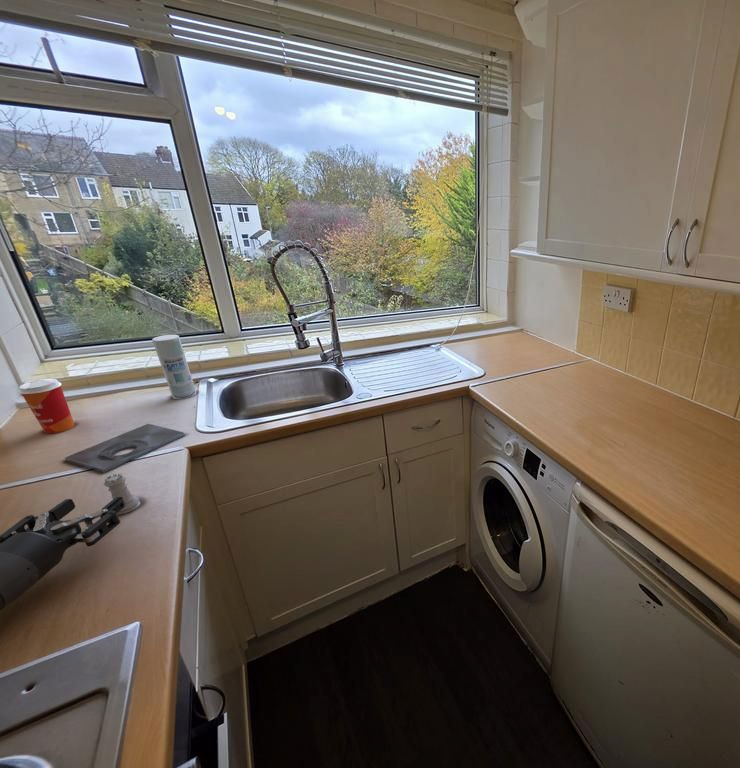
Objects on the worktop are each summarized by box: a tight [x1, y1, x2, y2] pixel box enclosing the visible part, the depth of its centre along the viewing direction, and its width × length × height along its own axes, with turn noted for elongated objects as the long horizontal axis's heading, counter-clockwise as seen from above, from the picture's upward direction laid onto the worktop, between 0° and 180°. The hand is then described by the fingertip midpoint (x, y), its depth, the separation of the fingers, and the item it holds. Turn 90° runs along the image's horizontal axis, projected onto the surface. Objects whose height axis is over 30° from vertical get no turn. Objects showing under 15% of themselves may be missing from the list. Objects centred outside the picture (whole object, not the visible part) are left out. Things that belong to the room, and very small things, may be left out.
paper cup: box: [18, 378, 75, 434], centre depth 108 cm, size 8×8×14 cm
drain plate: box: [64, 423, 185, 474], centre depth 103 cm, size 18×14×2 cm
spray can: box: [151, 334, 197, 400], centre depth 128 cm, size 6×6×20 cm
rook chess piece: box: [103, 472, 141, 515], centre depth 81 cm, size 4×4×8 cm
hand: (96, 501), depth 76 cm, fingers open, 8 cm apart
